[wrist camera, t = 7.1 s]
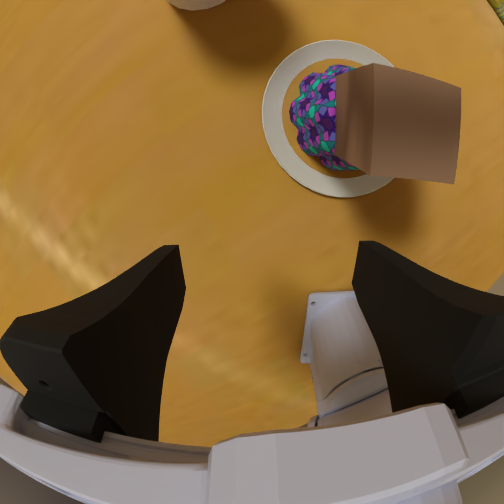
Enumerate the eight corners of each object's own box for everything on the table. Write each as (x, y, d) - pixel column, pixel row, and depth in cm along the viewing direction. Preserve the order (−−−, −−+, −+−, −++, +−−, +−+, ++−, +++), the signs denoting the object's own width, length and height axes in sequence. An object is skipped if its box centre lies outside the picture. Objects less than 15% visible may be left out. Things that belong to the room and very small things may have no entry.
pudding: (434, 111, 17) (475, 118, 12) (357, 222, 22) (382, 252, 17) (317, 13, 14) (337, -12, 9) (229, 139, 19) (221, 148, 14)
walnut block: (403, 160, 14) (453, 184, 10) (334, 155, 14) (370, 175, 10) (407, 88, 12) (461, 88, 8) (335, 76, 12) (373, 62, 8)
